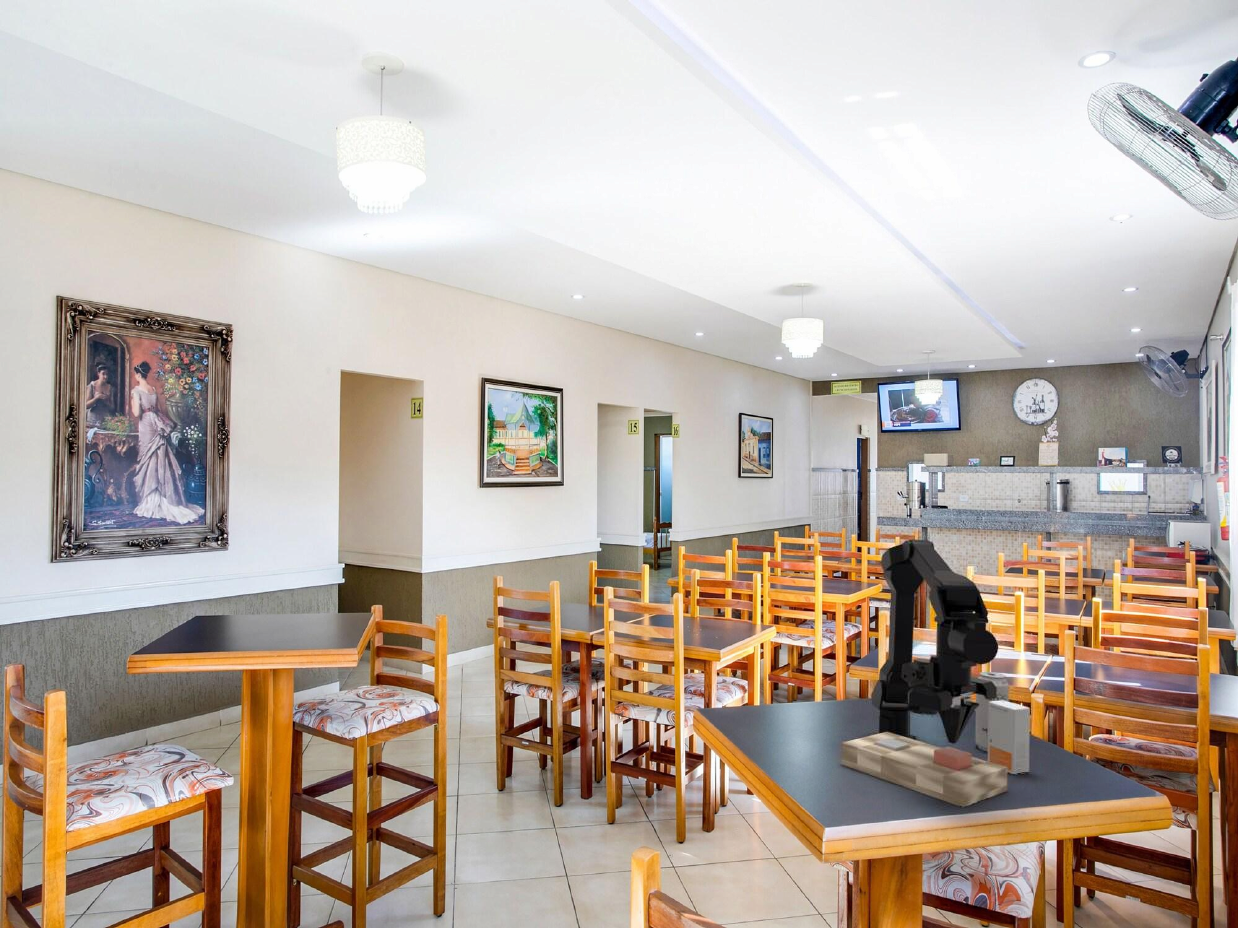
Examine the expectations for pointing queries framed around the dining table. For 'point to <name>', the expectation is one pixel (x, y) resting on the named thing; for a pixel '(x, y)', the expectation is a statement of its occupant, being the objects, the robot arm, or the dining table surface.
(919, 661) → the supplement bottle
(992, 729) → the skincare box
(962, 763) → the button red
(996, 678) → the energy drink can
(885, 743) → the button grey
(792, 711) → the dining table surface
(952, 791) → the console
